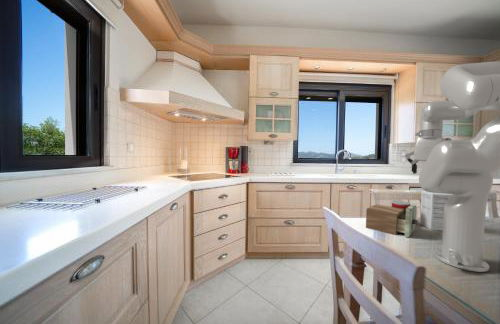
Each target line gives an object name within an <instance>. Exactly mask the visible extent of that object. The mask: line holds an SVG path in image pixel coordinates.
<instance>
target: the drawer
mask: <svg viewBox="0 0 500 324" xmlns="http://www.w3.org/2000/svg"><path fill="white" fill-rule="evenodd" d="M416 218H417V204H416V203H412V204H410V206H409V207H408V208H406V215H404V214H400V215H398V216H397V231H398V233H403V234H404V237H407V238H409V237H410V236H411V235H412V234H413V233H414V231H415V230H416V226H417V225H418V223H419V221H418V219H416Z"/></svg>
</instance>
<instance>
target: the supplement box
mask: <svg viewBox="0 0 500 324" xmlns="http://www.w3.org/2000/svg"><path fill="white" fill-rule="evenodd" d="M452 195H453V194H444V193H432V192H427V191H425V190H422V191H421V195H420V196H421V197H420V217H419V218H420V219H419V224H420V225H422V226H424V227H425V228H428V229H429V230H432V231H442V232H443V217H444V206H445V204H446V202H447V201H448V199H449V198H450V197H451V196H452Z"/></svg>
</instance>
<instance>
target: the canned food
mask: <svg viewBox="0 0 500 324" xmlns="http://www.w3.org/2000/svg"><path fill="white" fill-rule="evenodd" d="M410 205H411V203H410V201H409V202H408V201H404V200H396V199H395V200H392V201H391V207H396V208H402V209H404V215H406V208H408V207H409V206H410Z"/></svg>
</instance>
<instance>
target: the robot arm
mask: <svg viewBox="0 0 500 324" xmlns="http://www.w3.org/2000/svg"><path fill="white" fill-rule="evenodd" d="M439 84H440V85H439V87H440V92H441V93H442V95H444V97H445V98H446V99H448V100H435V101H429V102H428V103H426V105H424V106H423V107H421V109H420V120H419V121H420V122H419V131H418V132H415V137H418V138H416V141H415V145H414V150H413V151H412V152H409V153H406V154H405V158H406V160H407V162H409V163H410V164H411V173H412V174H414V175H415V174H417V172H418V163H419V162H420V161H422V162H424V164H423V166H422V167H421V170H420V173H419V177H418V183H419V186H420V188H421V189H422V190H423V191H427V192H432V193H444V194H452V196H451V197H450V198H449V199H448V201H447V202H446V204H445V206H444V217H443V231H442V234H441V235H442V236H441V249H439V250H436V251H435V252H434V255H435V258H436V259H438V260H439V261H441V262H443V263H444V264H447V265H449V266H450V267H451V266H452V267H454V268H458V269H460V270H465V271H468V272H477V273H485V272H489V270H490V265H489V264H488V263H487V262H486V261H485V260H483V256H484V243H485V242H484V241H485V239H484V238H485V226H486V225H485V224H486V214H487V211H486V210H487V205H488V199H489V195H490V192H491V190H492V188H493V187H492V186H493V181H494V177H493V175H492V173H495V172H498V171H499V170H500V115H498V116H496V117H494V118H493V119H492V120H490V121H489V122H487V123H486V124H485V125H484V126H483V127H481V128H480V130H479V132H478V133H477V134H476V135H475V137H473V138H471V139H451V140H445V137H443V130H444V129H443V127H444V121H460V120H461V121H462V120H465V119H468V118H470V117H472V116H474V115H476V114H477V113H478V112H479V111H499V110H500V61H484V62H483V61H482V62H473V63H471V62H470V63H463V64H456V65H454V66H452V67H450V68H449V69H448V70H446V72H445V73H444V74H443V75H442V77H441V79H440V83H439ZM411 156H413V159H412V158H411Z"/></svg>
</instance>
